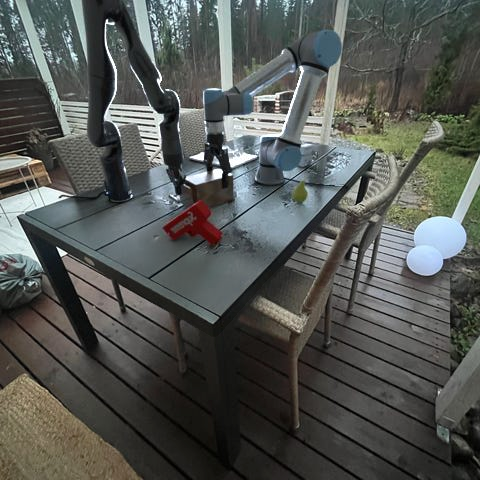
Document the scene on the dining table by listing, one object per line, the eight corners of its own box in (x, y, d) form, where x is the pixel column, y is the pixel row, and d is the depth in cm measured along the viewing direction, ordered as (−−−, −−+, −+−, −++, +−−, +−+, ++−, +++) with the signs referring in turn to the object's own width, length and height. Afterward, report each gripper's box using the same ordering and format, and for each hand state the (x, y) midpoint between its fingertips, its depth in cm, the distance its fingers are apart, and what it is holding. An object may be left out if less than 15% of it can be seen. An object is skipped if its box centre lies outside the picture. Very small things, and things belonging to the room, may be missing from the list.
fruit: (288, 200, 123) (290, 174, 116) (302, 197, 125) (305, 172, 119) (296, 206, 118) (299, 179, 111) (310, 203, 120) (314, 177, 114)
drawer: (179, 214, 110) (176, 192, 105) (169, 206, 116) (165, 185, 111) (225, 199, 122) (224, 178, 117) (213, 193, 128) (212, 173, 123)
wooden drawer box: (198, 211, 114) (195, 185, 108) (185, 203, 122) (182, 177, 115) (233, 199, 124) (233, 174, 118) (220, 192, 131) (218, 168, 125)
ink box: (304, 162, 171) (306, 143, 164) (310, 164, 168) (313, 144, 161) (296, 165, 166) (298, 145, 159) (302, 167, 163) (305, 147, 156)
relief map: (231, 168, 161) (231, 160, 158) (189, 159, 179) (189, 151, 176) (257, 158, 179) (257, 150, 176) (217, 150, 197) (216, 142, 194)
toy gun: (229, 234, 92) (201, 198, 88) (224, 240, 88) (196, 203, 84) (194, 253, 102) (168, 222, 98) (189, 259, 98) (162, 227, 94)
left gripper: (155, 149, 104) (163, 191, 113) (171, 156, 95) (178, 201, 105) (173, 146, 108) (179, 187, 117) (189, 152, 99) (195, 196, 108)
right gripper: (192, 129, 115) (196, 179, 127) (224, 138, 100) (226, 194, 112) (207, 127, 119) (210, 175, 131) (240, 135, 104) (240, 189, 116)
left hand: (178, 194), depth 111 cm, fingers closed
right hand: (217, 184), depth 122 cm, fingers closed on wooden drawer box, 11 cm apart
